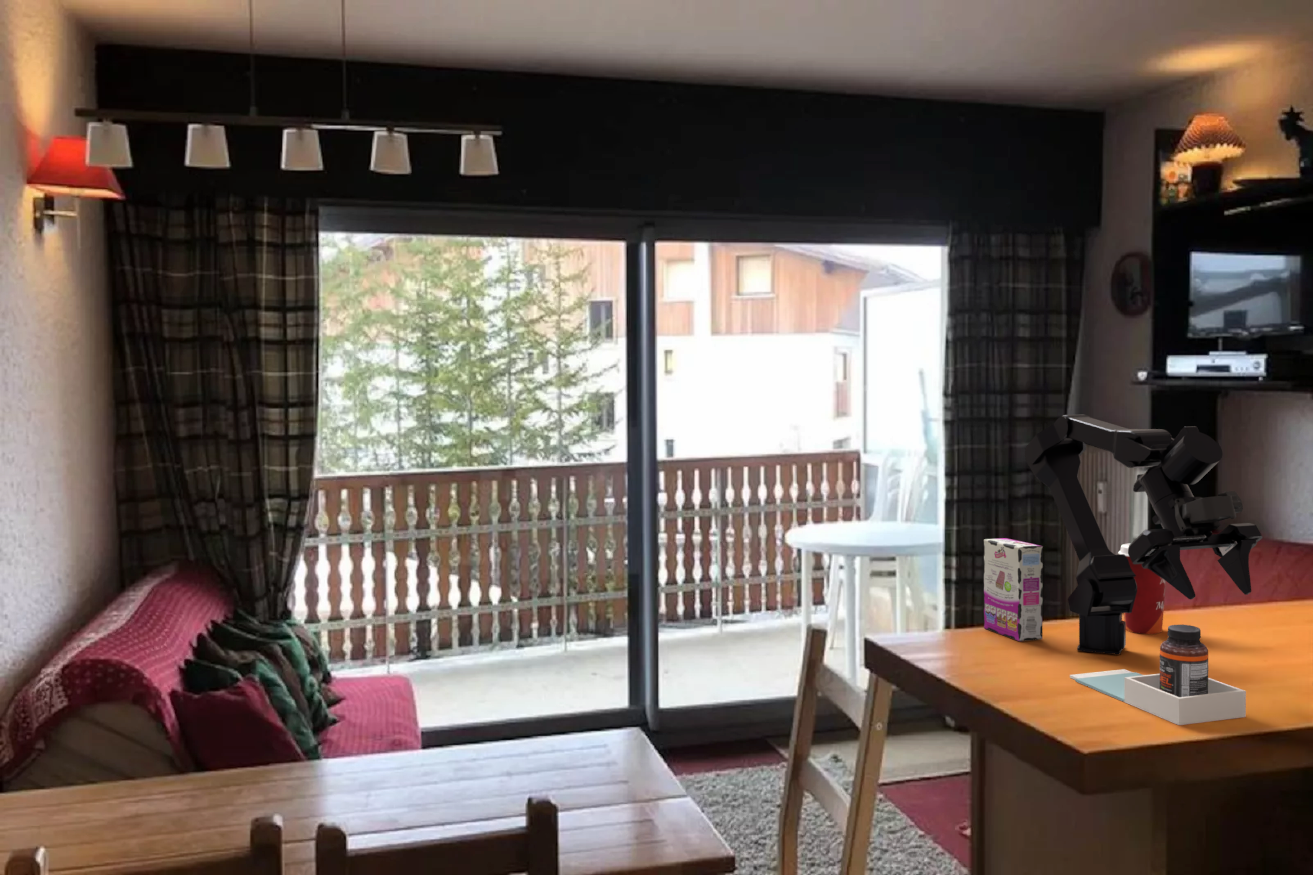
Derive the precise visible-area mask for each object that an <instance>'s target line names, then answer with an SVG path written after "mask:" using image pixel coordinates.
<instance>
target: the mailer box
mask: <svg viewBox="0 0 1313 875" xmlns="http://www.w3.org/2000/svg"><path fill="white" fill-rule="evenodd" d="M1069 678H1070V679H1072V680H1074V681H1075V682H1077V683H1079V684H1081V685H1083V686H1086V687H1087V686H1088V688H1090V689H1091V690H1092V689H1093V690H1095V691H1097V692H1100V693H1102V694H1104V695H1107V696H1109V697H1112V698H1114V699H1116V700H1118V701H1121V702H1123V703H1125V704H1128V705H1131V706H1132V707H1135V708H1138V709H1140V710H1142V711H1144V712H1147V713H1149V714H1151V715H1154V716H1157V717H1159V718H1161V719H1162V720H1165V721H1167V722H1171V723H1172V724H1175V725H1178V726H1183V725H1184V726H1185V725H1191V724H1200V723H1208V722H1214V721H1216V722H1217V721H1223V720H1232V719H1233V720H1234V719H1239V718H1246V717H1247V716H1246V714H1247V713H1246V708H1247V707H1246V705H1247V698H1246V697H1247V691H1246V690H1245V689H1242V688H1239V687H1236V686H1233V685H1230V684H1227V683H1225V682H1221V681H1218V680H1217V679H1213V678H1211V677H1208V694H1203V695H1195V696H1186V697H1177V696H1175V695H1172V694H1170V693H1167V692H1165V691H1162V690H1160V673H1154V674H1142V673H1139V672H1136V671H1135V672H1133V671H1130V670H1127V669H1125V668H1122V669H1115V670H1114V669H1113V670H1105V671H1096V672H1095V671H1094V672H1085V673H1076V674H1069Z"/></svg>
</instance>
